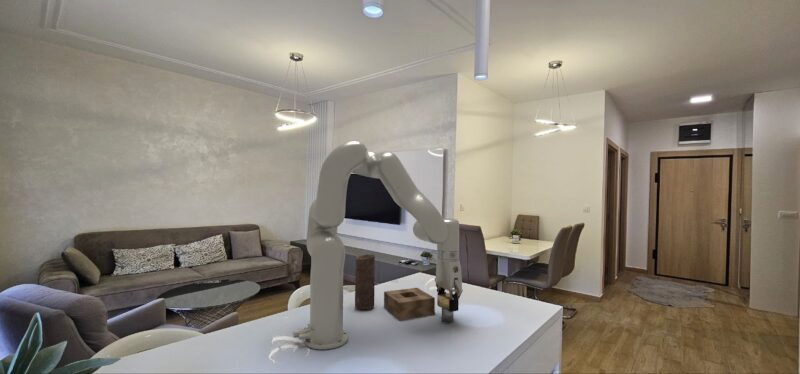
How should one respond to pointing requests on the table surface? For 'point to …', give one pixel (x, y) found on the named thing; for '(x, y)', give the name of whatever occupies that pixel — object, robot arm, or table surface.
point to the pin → (445, 307)
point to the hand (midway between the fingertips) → (447, 306)
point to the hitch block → (409, 303)
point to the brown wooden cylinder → (364, 281)
